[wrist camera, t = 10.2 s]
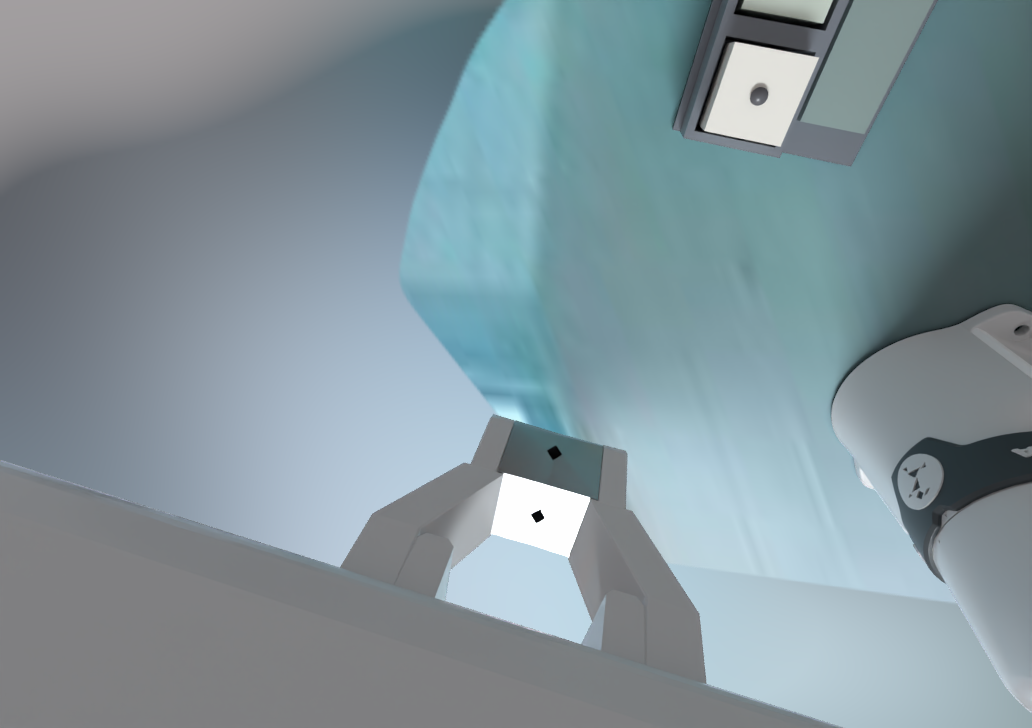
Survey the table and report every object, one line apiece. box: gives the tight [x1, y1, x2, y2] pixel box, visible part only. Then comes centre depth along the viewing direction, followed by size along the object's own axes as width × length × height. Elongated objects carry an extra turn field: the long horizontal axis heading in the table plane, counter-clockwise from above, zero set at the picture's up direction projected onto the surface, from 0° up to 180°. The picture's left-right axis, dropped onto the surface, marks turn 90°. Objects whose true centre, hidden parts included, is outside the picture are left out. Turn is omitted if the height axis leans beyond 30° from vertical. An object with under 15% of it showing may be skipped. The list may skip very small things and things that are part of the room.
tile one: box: [699, 42, 819, 147], centre depth 28 cm, size 4×4×4 cm
